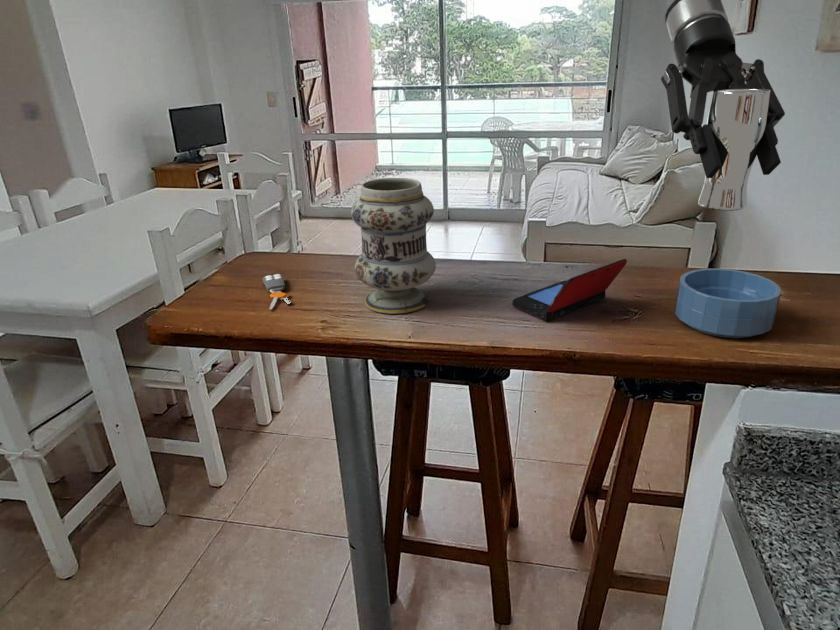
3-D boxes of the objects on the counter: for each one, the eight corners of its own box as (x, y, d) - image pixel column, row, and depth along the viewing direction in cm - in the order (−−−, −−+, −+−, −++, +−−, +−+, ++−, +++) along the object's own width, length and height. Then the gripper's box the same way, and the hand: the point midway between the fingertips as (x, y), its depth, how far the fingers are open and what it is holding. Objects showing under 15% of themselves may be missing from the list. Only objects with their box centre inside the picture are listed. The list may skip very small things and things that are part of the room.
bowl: (728, 300, 83) (735, 264, 80) (793, 334, 72) (803, 294, 70) (656, 310, 80) (662, 274, 78) (713, 347, 70) (721, 306, 68)
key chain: (261, 283, 97) (259, 274, 96) (283, 279, 98) (282, 271, 97) (269, 311, 86) (267, 302, 85) (294, 307, 87) (293, 298, 86)
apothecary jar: (427, 320, 81) (422, 193, 73) (347, 315, 83) (334, 192, 76) (443, 288, 91) (440, 174, 84) (371, 285, 94) (362, 174, 86)
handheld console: (567, 285, 90) (570, 240, 87) (624, 306, 82) (630, 257, 79) (508, 306, 84) (509, 258, 81) (564, 331, 76) (568, 279, 73)
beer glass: (683, 203, 82) (699, 91, 76) (719, 197, 84) (737, 88, 78) (724, 214, 76) (745, 93, 70) (761, 207, 78) (785, 89, 72)
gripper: (753, 52, 86) (799, 182, 78) (623, 59, 86) (656, 190, 78) (783, 10, 79) (837, 148, 71) (642, 17, 79) (680, 157, 71)
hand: (743, 170), depth 74 cm, fingers closed on beer glass, 7 cm apart
